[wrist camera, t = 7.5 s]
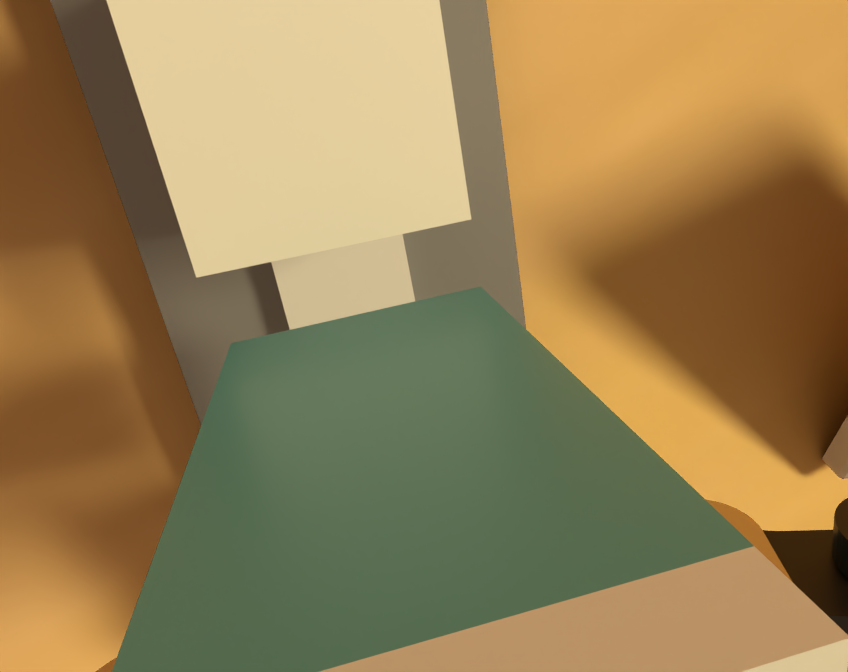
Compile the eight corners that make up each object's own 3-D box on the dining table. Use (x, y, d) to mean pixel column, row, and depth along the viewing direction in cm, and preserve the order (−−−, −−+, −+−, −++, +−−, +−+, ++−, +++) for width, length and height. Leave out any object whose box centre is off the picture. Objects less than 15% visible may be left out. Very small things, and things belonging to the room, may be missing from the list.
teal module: (231, 343, 10) (31, 893, 3) (480, 286, 11) (850, 637, 3) (309, 587, 12) (306, 1287, 5) (517, 530, 13) (803, 1090, 5)
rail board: (31, -113, 14) (-225, -329, 7) (447, -171, 15) (558, -406, 8) (278, 604, 22) (264, 817, 15) (539, 533, 23) (634, 703, 16)
